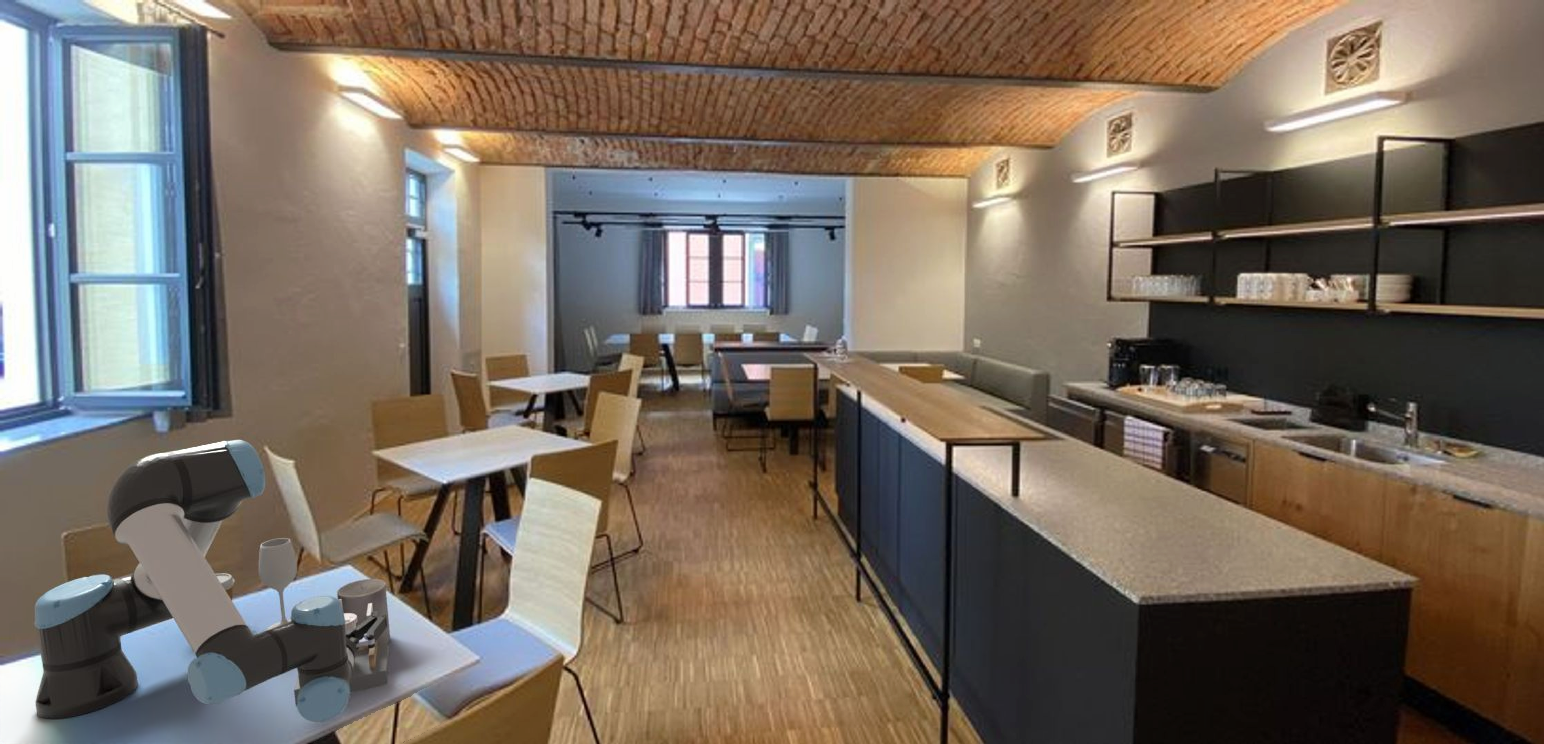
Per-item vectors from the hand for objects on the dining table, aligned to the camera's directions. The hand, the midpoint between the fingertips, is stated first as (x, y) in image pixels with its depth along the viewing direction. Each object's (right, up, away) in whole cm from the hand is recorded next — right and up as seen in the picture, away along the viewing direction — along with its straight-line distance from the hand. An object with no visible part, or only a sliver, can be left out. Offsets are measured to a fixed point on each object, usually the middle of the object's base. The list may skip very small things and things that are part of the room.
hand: (341, 614), depth 160 cm
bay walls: (+2, -9, -3) cm, 10 cm away
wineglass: (-26, -10, +21) cm, 35 cm away
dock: (+2, -12, -3) cm, 13 cm away
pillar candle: (-1, -11, +12) cm, 16 cm away
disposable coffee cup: (-42, -10, +21) cm, 48 cm away
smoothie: (+2, -10, -3) cm, 10 cm away
